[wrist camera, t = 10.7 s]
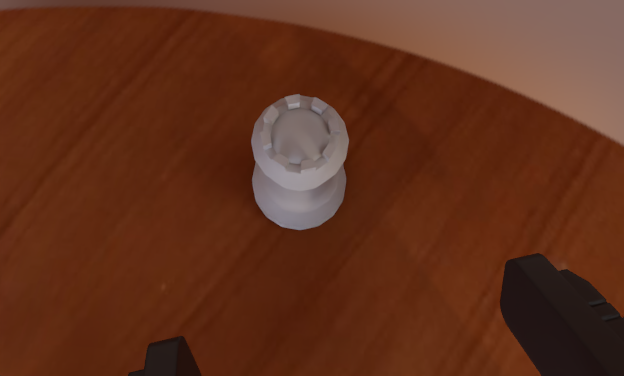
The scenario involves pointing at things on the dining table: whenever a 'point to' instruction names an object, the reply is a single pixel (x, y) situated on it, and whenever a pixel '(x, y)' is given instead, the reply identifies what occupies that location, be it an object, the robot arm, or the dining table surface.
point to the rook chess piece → (299, 162)
